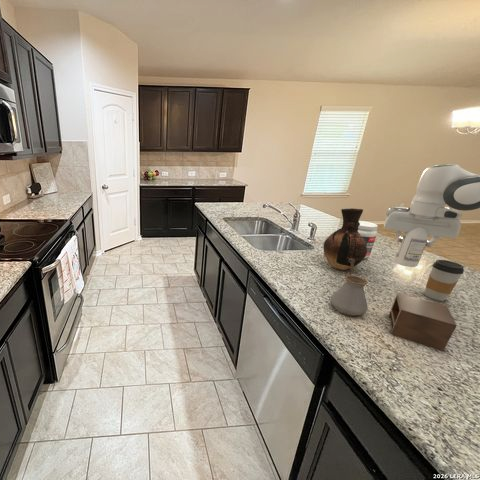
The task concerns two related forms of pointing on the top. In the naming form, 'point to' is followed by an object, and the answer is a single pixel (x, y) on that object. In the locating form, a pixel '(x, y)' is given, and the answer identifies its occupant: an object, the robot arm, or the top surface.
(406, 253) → the bath foam
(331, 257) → the ceramic vessel
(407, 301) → the shelf
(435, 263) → the coffee cup
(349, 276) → the coffee pot
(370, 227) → the supplement tub
